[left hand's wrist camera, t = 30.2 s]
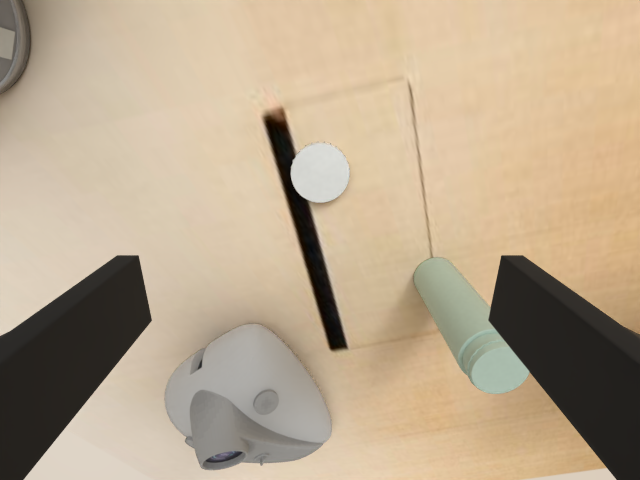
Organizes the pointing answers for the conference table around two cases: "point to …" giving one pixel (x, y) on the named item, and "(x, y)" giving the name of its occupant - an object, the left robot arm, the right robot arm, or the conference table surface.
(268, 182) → the conference table surface
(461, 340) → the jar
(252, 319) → the conference table surface
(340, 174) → the lid
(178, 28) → the conference table surface
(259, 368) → the projector
